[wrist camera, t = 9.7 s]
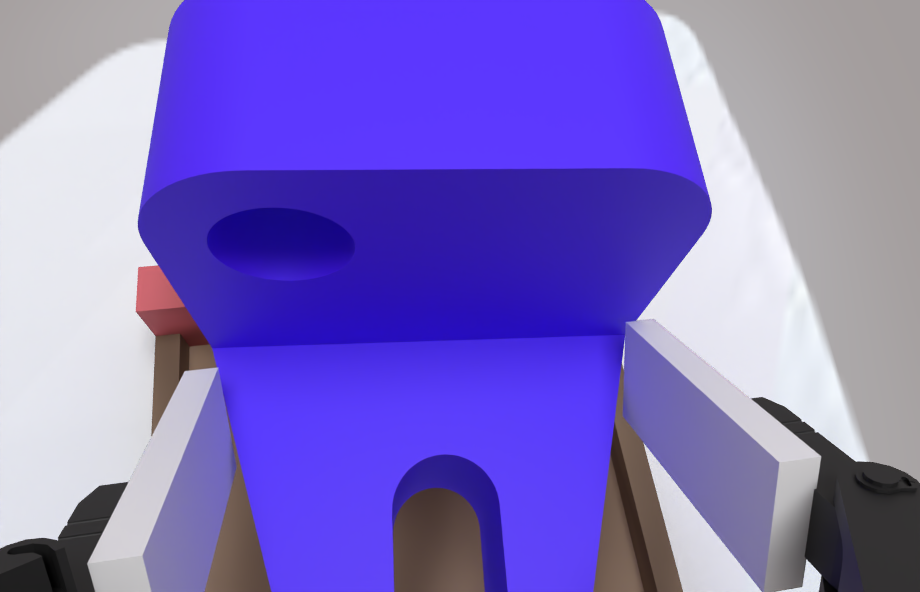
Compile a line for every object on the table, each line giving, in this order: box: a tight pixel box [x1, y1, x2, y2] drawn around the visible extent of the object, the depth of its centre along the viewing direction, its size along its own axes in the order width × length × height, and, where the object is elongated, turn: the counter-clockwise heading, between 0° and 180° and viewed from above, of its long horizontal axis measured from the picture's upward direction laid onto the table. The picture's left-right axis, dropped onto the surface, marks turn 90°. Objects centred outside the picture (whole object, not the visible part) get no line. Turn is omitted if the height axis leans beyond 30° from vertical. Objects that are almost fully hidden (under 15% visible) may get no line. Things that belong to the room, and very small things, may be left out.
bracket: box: [138, 0, 712, 592], centre depth 15 cm, size 18×11×12 cm, turn 4°
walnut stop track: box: [136, 266, 683, 592], centre depth 27 cm, size 20×20×5 cm
